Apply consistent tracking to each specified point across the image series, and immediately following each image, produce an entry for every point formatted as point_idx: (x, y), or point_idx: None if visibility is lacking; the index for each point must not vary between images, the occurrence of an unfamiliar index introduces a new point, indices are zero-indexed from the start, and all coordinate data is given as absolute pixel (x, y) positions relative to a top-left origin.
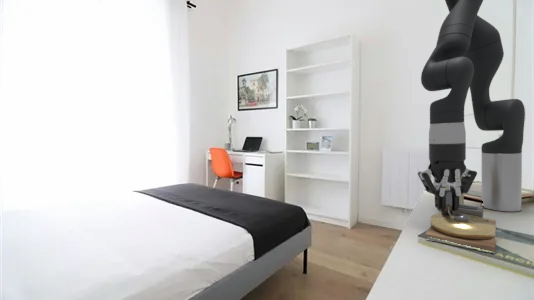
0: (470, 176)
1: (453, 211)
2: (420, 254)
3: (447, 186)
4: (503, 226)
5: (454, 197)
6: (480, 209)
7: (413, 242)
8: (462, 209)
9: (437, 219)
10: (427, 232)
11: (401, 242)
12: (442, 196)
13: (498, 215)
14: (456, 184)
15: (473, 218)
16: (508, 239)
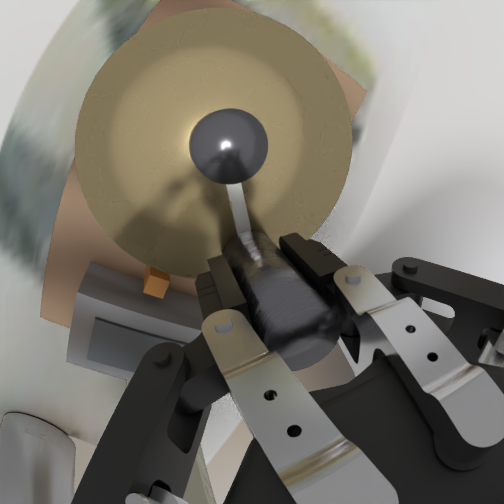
0: (125, 494)
1: (193, 318)
2: (387, 8)
3: (198, 471)
4: (27, 300)
5: (244, 300)
6: (78, 327)
7: (386, 79)
8: (157, 318)
9: (331, 150)
10: (357, 104)
11: (411, 83)
12: (341, 268)
13: (38, 392)
14: (281, 366)
15: (142, 197)
16: (46, 153)
